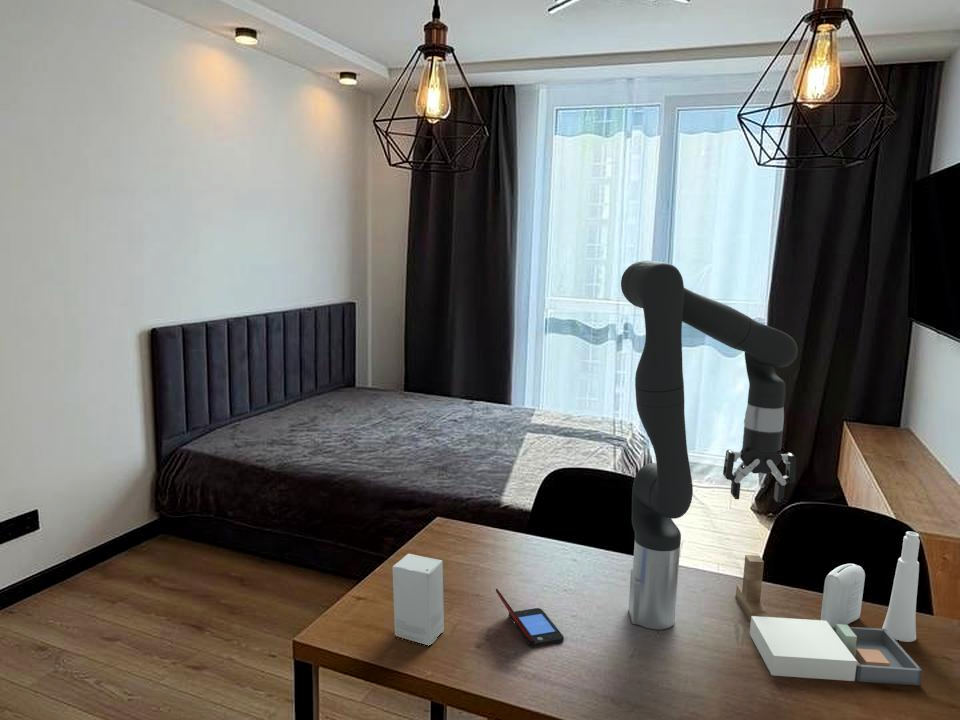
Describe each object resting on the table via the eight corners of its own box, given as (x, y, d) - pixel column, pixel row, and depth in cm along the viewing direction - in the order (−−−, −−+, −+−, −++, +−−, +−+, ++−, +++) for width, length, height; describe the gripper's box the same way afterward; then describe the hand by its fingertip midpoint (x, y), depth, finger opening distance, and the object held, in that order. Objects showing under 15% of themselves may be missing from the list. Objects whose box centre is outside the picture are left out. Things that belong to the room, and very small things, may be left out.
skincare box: (444, 632, 138) (445, 560, 136) (428, 649, 132) (429, 574, 130) (408, 621, 142) (409, 551, 139) (391, 638, 136) (391, 564, 133)
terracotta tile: (889, 663, 127) (888, 673, 127) (878, 650, 131) (877, 659, 131) (866, 661, 127) (865, 671, 127) (856, 648, 131) (854, 658, 131)
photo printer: (843, 609, 150) (849, 556, 148) (862, 618, 147) (869, 564, 144) (816, 622, 145) (822, 568, 142) (836, 632, 141) (843, 576, 139)
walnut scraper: (750, 623, 144) (755, 570, 142) (735, 596, 155) (740, 546, 153) (764, 624, 144) (770, 570, 142) (749, 597, 154) (753, 547, 152)
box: (856, 681, 125) (858, 666, 125) (825, 638, 138) (827, 625, 138) (920, 685, 124) (922, 670, 124) (883, 642, 138) (885, 629, 137)
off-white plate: (771, 675, 126) (773, 655, 126) (749, 634, 140) (751, 616, 139) (854, 681, 125) (857, 661, 124) (824, 638, 138) (826, 620, 138)
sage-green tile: (846, 636, 131) (856, 636, 131) (836, 624, 135) (847, 624, 135) (843, 655, 132) (854, 656, 132) (834, 643, 136) (844, 644, 136)
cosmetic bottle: (878, 623, 144) (891, 525, 141) (910, 628, 143) (924, 529, 139) (886, 639, 139) (900, 537, 135) (920, 644, 137) (935, 541, 133)
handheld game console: (565, 643, 136) (567, 609, 134) (515, 653, 132) (516, 617, 131) (540, 611, 147) (541, 579, 146) (493, 619, 144) (494, 586, 143)
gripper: (733, 429, 140) (726, 504, 143) (805, 432, 139) (797, 508, 142) (724, 419, 148) (718, 491, 150) (792, 422, 146) (785, 494, 149)
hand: (756, 499), depth 146 cm, fingers open, 8 cm apart
